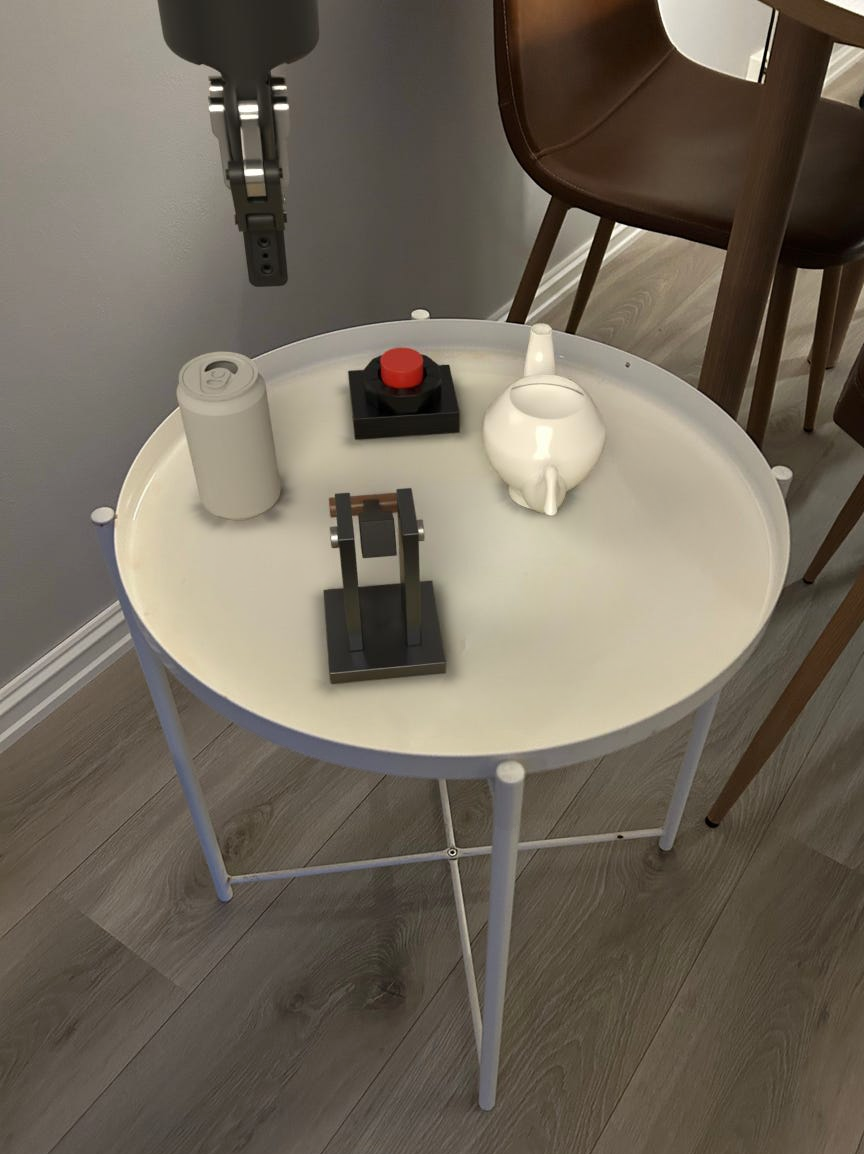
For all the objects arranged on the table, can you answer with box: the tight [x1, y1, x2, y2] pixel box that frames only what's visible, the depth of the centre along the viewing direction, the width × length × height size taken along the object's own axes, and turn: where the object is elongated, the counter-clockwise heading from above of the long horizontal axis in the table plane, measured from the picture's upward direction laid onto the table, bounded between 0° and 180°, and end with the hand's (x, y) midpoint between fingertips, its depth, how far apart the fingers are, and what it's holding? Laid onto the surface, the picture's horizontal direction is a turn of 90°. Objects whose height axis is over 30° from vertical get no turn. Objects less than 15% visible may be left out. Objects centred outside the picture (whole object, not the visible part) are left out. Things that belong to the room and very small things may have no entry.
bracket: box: [322, 487, 447, 685], centre depth 72 cm, size 8×8×12 cm
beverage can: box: [176, 351, 282, 521], centre depth 81 cm, size 6×6×12 cm
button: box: [380, 347, 423, 388], centre depth 91 cm, size 4×4×2 cm
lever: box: [328, 492, 398, 559], centre depth 73 cm, size 11×6×2 cm, turn 8°
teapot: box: [481, 323, 607, 516], centre depth 84 cm, size 10×20×9 cm, turn 0°
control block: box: [347, 353, 461, 441], centre depth 93 cm, size 9×7×4 cm
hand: (268, 279), depth 62 cm, fingers closed
